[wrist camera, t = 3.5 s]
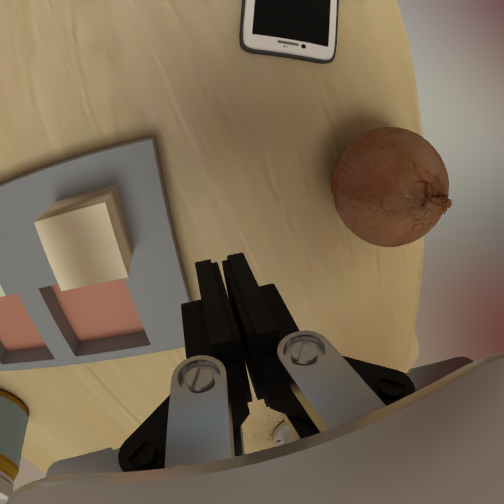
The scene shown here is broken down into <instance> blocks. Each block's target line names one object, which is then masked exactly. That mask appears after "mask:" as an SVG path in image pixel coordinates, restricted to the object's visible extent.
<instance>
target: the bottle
mask: <svg viewBox="0 0 504 504" xmlns="http://www.w3.org/2000/svg"><path fill="white" fill-rule="evenodd" d="M28 418H29V414H28V411H27V409H26V407H25V406H24V404H23V403H22V402H21V401H20V400H19V399H18V398H16V397H15V396H13V395H11V394H9V393H8V392H5V391H2V390H0V499H1V500H4V501H7V500H8V498H9V496H10V495H11V494H12V493H13V485H14V479H15V478H16V476H17V474H18V470H19V465H20V459H21V453H22V447H23V442H24V437H25V432H26V427H27V423H28Z"/></svg>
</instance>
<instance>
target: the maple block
mask: <svg viewBox="0 0 504 504" xmlns="http://www.w3.org/2000/svg"><path fill="white" fill-rule="evenodd" d="M34 223H35V226H36V229H37V232H38V235H39V237H40V240H41V243H42V246H43V248H44V251H45V253H46V256H47V258H48V261H49V263H50V266H51V268H52V270H53V273H54V275H55V277H56V280H57V282H58V284H59V286H60V289H61V291H65V290H70V289H75V288H79V287H84V286H89V285H94V284H98V283H103V282H108V281H113V280H117V279H122V278H127V277H129V272H130V267H131V262H132V257H133V253H134V246H133V243H132V239H131V236H130V232H129V229H128V225H127V222H126V218H125V214H124V210H123V207H122V203H121V199H120V195H119V191H118V187H117V185H113V186H109V187H105V188H102V189H98V190H94V191H90V192H87V193H83V194H80V195H76V196H73V197H69V198H66V199H63V200H59V201H56V202H54V203H53V204H52V205H51V206H50V207H49V208H48V209H47V210H46V211H45V212H44V213H43V214H42V215H41V216H40V217H39V218H38V219H37V220H36V221H35V222H34Z"/></svg>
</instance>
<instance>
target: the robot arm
mask: <svg viewBox="0 0 504 504" xmlns="http://www.w3.org/2000/svg"><path fill="white" fill-rule="evenodd" d="M222 265H223V271H224V276H225V282H226V287H227V293H228V296H227V293H226V289H225V286H224V283H223V280H222V276H221V273H220V270H219V266H218V263H217V262H215V263H211V260H210V259H209V260H205V261H200V262H195V266H196V272H197V277H198V283H199V289H200V294H201V300H197V301H192V302H187V303H182V304H181V313H182V323H183V332H184V341H185V350H186V358H187V359H186V360H184V361H183V362H181V363H180V364H179V365H178V366H177V367H176V369H175V370H174V372H173V375H172V380H171V390H170V395H169V396H168V397H167V398H166V399H165V400H164V401H163V403H162V404H161V405H160V406H159V407H158V408H157V409H156V410H155V411H154V412H153V413H152V414H151V415H150V416H149V417H148V418H147V419H146V420H145V421H144V422H143V423H142V424H141V425H140V426H139V427H138V428H137V429H136V431H135V432H134V433H133V434H132V435H131V436H130V437H129V438H128V439H127V440H126V441H125V442H124V443H123V445H122V446H121V447H120V448H119V449H115V450H113V449H112V448H111V447H110V448H107V449H103V450H100V451H96V452H92V453H88V454H85V455H81V456H76V457H72V458H68V459H63V460H59V461H57V462H55V463H53V464H52V465H51V466H50V467H49V469H48V471H47V474H46V478H43V479H40V480H36V481H33V482H31V483H28V484H26V485H24V486H22V487H20V488H18V489H17V490H15V491H14V492H13V493H12V494H11V495H10V496H9V498H8V500H7V501H6V504H504V353H503V354H496V355H492V356H488V357H485V358H482V359H479V360H477V361H473V360H471V359H469V358H467V357H455V358H451V359H448V360H444V361H441V362H437V363H433V364H429V365H425V366H421V367H417V368H412V369H409V371H408V373H403V372H400V371H398V370H394V369H390V368H386V367H382V366H378V365H375V364H371V363H367V362H363V361H359V360H356V359H352V358H349V357H345V356H342V355H341V354H340V353H339V352H338V351H337V350H336V349H335V348H334V346H333V345H332V344H331V343H330V342H329V341H328V340H327V339H326V338H325V337H324V336H323V335H321V334H319V333H316V332H312V331H299V329H298V327H297V325H296V323H295V322H294V320H293V318H292V316H291V314H290V312H289V310H288V309H287V307H286V305H285V303H284V301H283V299H282V298H281V296H280V294H279V292H278V290H277V288H276V287H275V285H274V284H273V283H272V284H268V285H264V286H258V284H257V282H256V280H255V278H254V275H253V273H252V271H251V269H250V267H249V265H248V263H247V260H246V258H245V256H244V254H243V253H238V254H233V255H228V256H227V260H225V261H222ZM228 298H229V299H228ZM245 363H246V364H245ZM246 366H247V369H248V372H249V375H250V379H251V382H252V385H253V388H254V391H255V394H256V397H257V399H258V400H260V399H264V401H265V404H266V407H269V406H270V408H271V409H273V410H276V411H278V412H281V414H282V416H283V419H284V422H282V423H281V424H280V425H279V426H278V427H277V428H276V429H275V431H274V432H273V435H272V440H273V442H274V445H275V446H276V447H273V448H269V449H265V450H262V451H258V452H254V453H249V454H245V452H244V442H243V432H242V427H241V425H242V424H243V422H244V421H245V419H246V418H247V417H248V415H249V414H250V413H249V408H248V404H247V403H248V402H252V395H251V390H250V385H249V380H248V375H247V370H246Z"/></svg>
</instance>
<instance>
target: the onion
mask: <svg viewBox="0 0 504 504" xmlns="http://www.w3.org/2000/svg"><path fill="white" fill-rule="evenodd" d="M448 189H449V180H448V174H447V171H446V168H445V165H444V163H443V161H442V159H441V157H440V155H439V154H438V152H437V151H436V150H435V149H434V147H433V146H432V145H431V144H430V143H429V142H428V141H427V140H425V139H424V138H423V137H421V136H420V135H418V134H416V133H414V132H411V131H409V130H406V129H402V128H395V127H386V128H378V129H375V130H371V131H369V132H367V133H365V134H363V135H361V136H359V137H358V138H357V139H355V140H354V141H353V142H352V143H351V144H349V145H348V146H347V148H346V149H345V151H344V152H343V153H342V155H341V157H340V159H339V161H338V162H337V164H336V165H335V169H334V172H333V177H332V182H331V192H332V193H333V195H334V203H335V206H336V209H337V212H338V214H339V216H340V217H341V219H342V221H343V222H344V223H345V225H346V226H347V227H348V228H349V229H350V230H351V231H352V232H353V233H354V234H355V235H357V236H358V237H360V238H361V239H363V240H364V241H366V242H368V243H371V244H374V245H377V246H383V247H395V246H400V245H404V244H408V243H411V242H413V241H415V240H417V239H419V238H420V237H422V236H424V235H425V234H426V233H428V232H429V231H430V230H431V228H433V227H434V226H435V224H436V223H437V222H438V220H439V219H440V217H441V216H442V214H443V213H444V214H445V211H447V208H450V206H451V204H452V203H451V201H452V200H449V199H448Z"/></svg>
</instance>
